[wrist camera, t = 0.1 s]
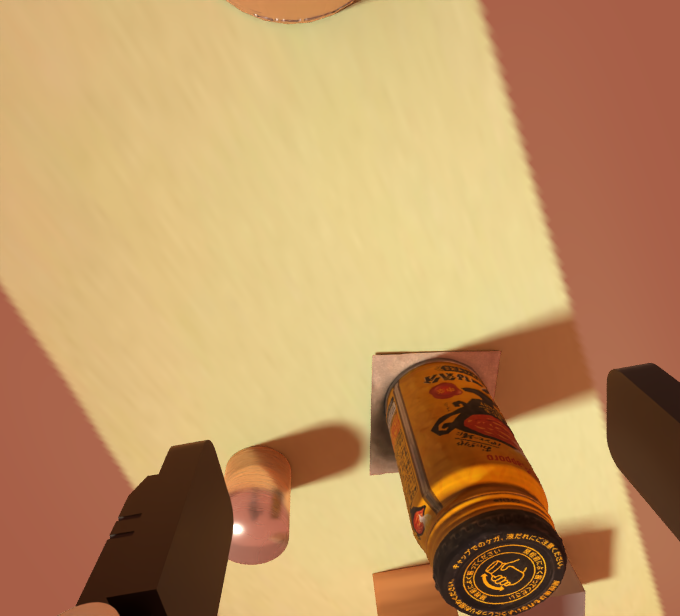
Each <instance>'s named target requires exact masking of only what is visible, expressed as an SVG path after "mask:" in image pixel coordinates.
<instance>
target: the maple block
mask: <svg viewBox="0 0 680 616" xmlns="http://www.w3.org/2000/svg"><path fill="white" fill-rule="evenodd" d="M373 582H374V590H375V597H376V605H377V613H378V616H458V612H457V609H455V608H454V607H452V606H450V605H449V604H447V603H446V602H445V600H444V599H443V598H442V596H441V594H440V592H439V591H437V590H436V588H435V581H434V579H433V570H432V568H431V566H430V564H425V565H420V566H414V567H408V568H403V569H397V570H391V571H386V572H380V573H374V574H373Z"/></svg>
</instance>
